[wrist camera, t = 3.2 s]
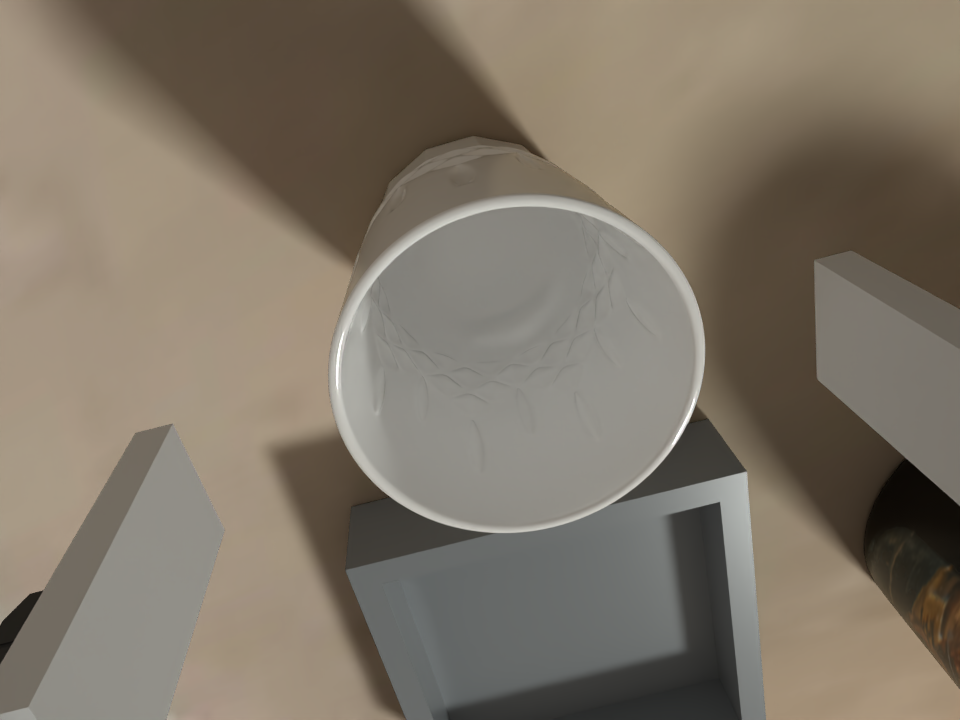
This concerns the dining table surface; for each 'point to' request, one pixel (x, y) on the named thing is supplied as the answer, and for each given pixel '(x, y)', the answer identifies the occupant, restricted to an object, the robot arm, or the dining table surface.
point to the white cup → (510, 344)
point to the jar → (919, 560)
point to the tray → (574, 603)
